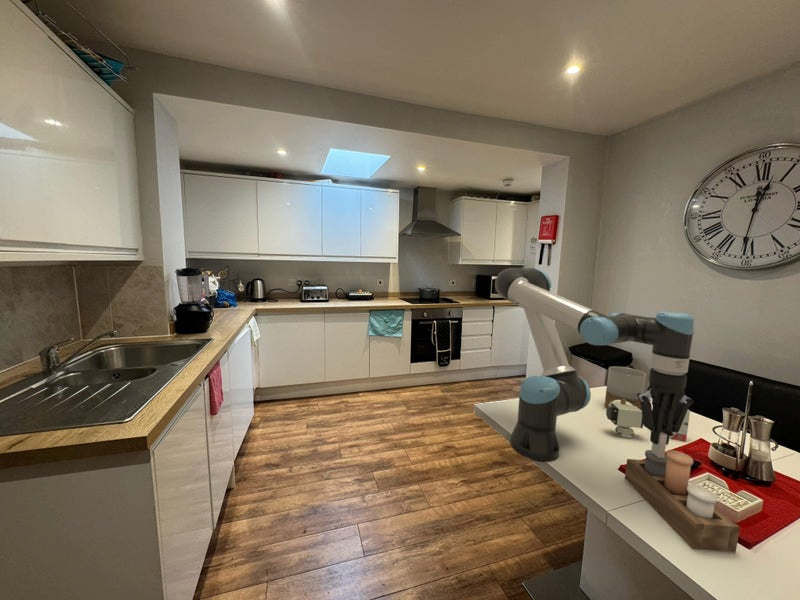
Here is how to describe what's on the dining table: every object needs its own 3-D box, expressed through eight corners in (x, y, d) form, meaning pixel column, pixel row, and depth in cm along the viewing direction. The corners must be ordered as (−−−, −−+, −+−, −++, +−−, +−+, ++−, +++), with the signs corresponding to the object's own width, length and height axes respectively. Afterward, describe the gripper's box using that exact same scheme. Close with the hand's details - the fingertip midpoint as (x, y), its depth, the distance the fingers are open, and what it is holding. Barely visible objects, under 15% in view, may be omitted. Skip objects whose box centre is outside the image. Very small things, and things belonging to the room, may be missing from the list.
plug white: (694, 537, 71) (700, 499, 70) (676, 520, 76) (681, 483, 75) (717, 540, 70) (724, 501, 69) (698, 522, 75) (703, 485, 74)
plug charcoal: (649, 493, 84) (653, 460, 83) (636, 480, 89) (640, 449, 88) (669, 494, 84) (673, 461, 83) (655, 481, 89) (659, 450, 88)
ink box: (681, 435, 117) (685, 405, 116) (686, 442, 113) (690, 410, 111) (652, 430, 121) (656, 400, 119) (656, 436, 116) (660, 405, 115)
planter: (605, 401, 146) (609, 364, 144) (640, 410, 138) (645, 370, 136) (603, 411, 135) (608, 371, 133) (641, 421, 128) (646, 378, 126)
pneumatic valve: (645, 441, 112) (649, 409, 111) (609, 436, 115) (612, 405, 113) (637, 433, 118) (641, 402, 116) (602, 429, 120) (606, 399, 119)
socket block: (691, 548, 69) (695, 523, 68) (624, 478, 92) (627, 458, 91) (735, 552, 68) (740, 527, 68) (657, 480, 91) (659, 461, 90)
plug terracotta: (672, 497, 77) (677, 461, 76) (657, 483, 82) (661, 449, 81) (693, 499, 77) (699, 463, 76) (677, 484, 82) (682, 450, 81)
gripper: (652, 374, 80) (641, 461, 82) (707, 377, 79) (694, 465, 81) (633, 365, 87) (623, 445, 90) (682, 367, 86) (671, 448, 89)
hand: (657, 454), depth 86 cm, fingers closed
